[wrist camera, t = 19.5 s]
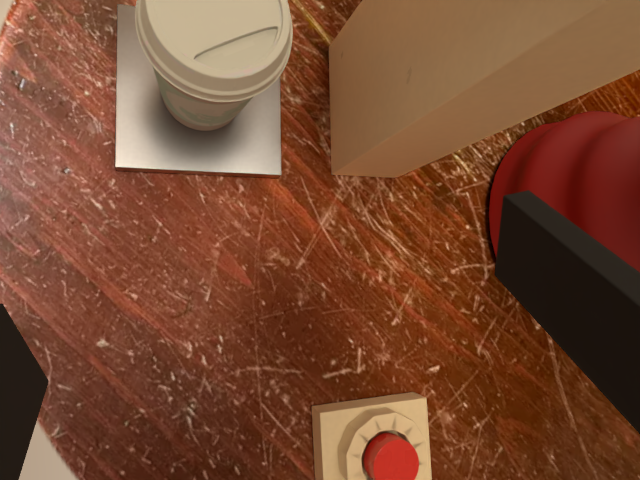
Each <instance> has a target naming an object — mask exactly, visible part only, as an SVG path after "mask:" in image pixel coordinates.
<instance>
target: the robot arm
mask: <svg viewBox="0 0 640 480" xmlns="http://www.w3.org/2000/svg"><path fill="white" fill-rule="evenodd" d="M495 276H496V277H497V278H498V279H499V280H500V281H501V282H502V283H503V285H504V286H505V287H506V288H507V289H508V290H509V291H510V292H511V293H512V294H513V296H514V297H515V298H516V299H517V300H518V301H519V302H520V303H521V304H522V305H523V306H524V308H525V309H526V310H527V311H528V312H529V313H530V314H531V315H532V316H533V317H534V319H535V320H536V321H537V322H538V323H539V324H540V325H541V326H542V327H543V328H544V329H545V331H546V332H547V333H548V334H549V335H550V336H551V337H552V338H553V339H554V340H555V342H556V343H557V344H558V345H559V346H560V347H561V348H562V349H563V350H564V351H565V352H566V354H567V355H568V356H569V357H570V358H571V359H572V360H573V361H574V362H575V363H576V365H577V366H578V367H579V368H580V369H581V370H582V371H583V372H584V373H585V374H586V375H587V377H588V378H589V379H590V380H591V381H592V382H593V383H594V384H595V385H596V386H597V388H598V389H599V390H600V391H601V392H602V393H603V394H604V395H605V396H606V397H607V398H608V400H609V401H610V402H611V403H612V404H613V405H614V406H615V407H616V408H617V409H618V411H619V412H620V413H621V414H622V415H623V416H624V417H625V418H626V419H627V420H628V421H629V423H630V424H631V425H632V426H633V427H634V428H635V429H636V430H637V431H638V432H639V434H640V272H639V271H637V270H636V269H634V268H633V267H632V266H630V265H629V264H628V263H626V262H625V261H624V260H622V259H621V258H620V257H618V256H617V255H616V254H614V253H613V252H612V251H610V250H609V249H607V248H606V247H605V246H603V245H602V244H601V243H599V242H598V241H597V240H595V239H594V238H593V237H591V236H590V235H589V234H587V233H586V232H584V231H583V230H582V229H580V228H579V227H578V226H576V225H575V224H574V223H572V222H571V221H570V220H568V219H567V218H566V217H564V216H563V215H561V214H560V213H559V212H557V211H556V210H555V209H553V208H552V207H551V206H549V205H548V204H547V203H545V202H544V201H543V200H541V199H540V198H539V197H537V196H536V195H534V194H533V193H532V192H530V191H529V190H527V191H523V192H518V193H513V194H509V195H504V196H503V204H502V213H501V222H500V231H499V240H498V249H497V258H496V267H495ZM48 382H49V381H48V379H47V377H46V376H45V374H44V372H43V371H42V369H41V367H40V366H39V364H38V362H37V361H36V359H35V357H34V356H33V354H32V352H31V351H30V349H29V347H28V346H27V344H26V342H25V341H24V339H23V337H22V336H21V334H20V332H19V330H18V329H17V327H16V325H15V324H14V322H13V320H12V319H11V317H10V315H9V314H8V312H7V310H6V309H5V307H4V305H3V304H0V480H18V479H19V476H20V473H21V470H22V466H23V463H24V460H25V457H26V453H27V450H28V447H29V444H30V440H31V437H32V434H33V430H34V427H35V424H36V421H37V418H38V414H39V411H40V408H41V405H42V401H43V398H44V395H45V392H46V388H47V385H48Z"/></svg>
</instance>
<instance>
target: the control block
mask: <svg viewBox="0 0 640 480" xmlns="http://www.w3.org/2000/svg"><path fill="white" fill-rule="evenodd" d="M312 427H313V447H314V467H315V480H372V479H371V478H370V477H369V475H368V474H367V472H366V470H365V466H364V454H365V451H366V448H367V446H368V445H369V443H370V442H371V441H372V440H373V439H374V438H375V437H376V436H378V435H380V434H383V433H393V434H396V435H398V436H399V437H401V438H402V439H404V440H405V441H407V442H408V443H410V444H411V445H412V446H413V447H414V448H415V450H416V452H417V454H418V458H419V469H418V473H417V476H416V478H415V480H432V475H431V460H430V445H429V430H428V414H427V399H426V397H423V396H421V395H419V394H417V393H414V392H410V393H402V394H395V395H388V396H381V397H374V398H366V399H359V400H352V401H345V402H338V403H330V404H323V405H316V406H312Z"/></svg>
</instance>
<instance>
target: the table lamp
mask: <svg viewBox="0 0 640 480" xmlns="http://www.w3.org/2000/svg"><path fill="white" fill-rule="evenodd" d="M527 190H529V191H530V192H532V193H533V194H534V195H536V196H537V197H539V198H540V199H541V200H543V201H544V202H545V203H547V204H548V205H549V206H551V207H552V208H553V209H555V210H556V211H557V212H559V213H560V214H561V215H563V216H564V217H566V218H567V219H568V220H570V221H571V222H572V223H574V224H575V225H576V226H578V227H579V228H580V229H582V230H583V231H584V232H586V233H587V234H589V235H590V236H591V237H593V238H594V239H595V240H597V241H598V242H599V243H601V244H602V245H603V246H605V247H606V248H607V249H609V250H610V251H612V252H613V253H614V254H616V255H617V256H618V257H620V258H621V259H622V260H624V261H625V262H626V263H628V264H629V265H630V266H632V267H633V268H634V269H636V270H637V271H639V272H640V116H639V117H635V118H628V117H625V116H622V115H619V114H615V113H611V112H603V111H589V112H584V113H580V114H576V115H573V116H571V117H569V118H567V119H565V120H563V121H561V122H555V123H550V124H544V125H541V126H539V127H537V128H535V129H533V130H531V131H529V132H528V133H526V134H525V135H524V136H523V137H522V138H520V139H519V140H518V141H517V142H516V143H515V144H514V145H513V146H512V148H511V149H510V150H509V151H508V153H507V154H506V155H505V156H504V158H503V160H502V162H501V164H500V166H499V168H498V170H497V172H496V174H495V178H494V182H493V186H492V190H491V194H490V207H489V222H490V235H491V240H492V244H493V248H494V252H495V256H496V258H497V249H498V240H499V231H500V222H501V213H502V204H503V196H504V195H509V194H513V193H518V192H523V191H527Z"/></svg>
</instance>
